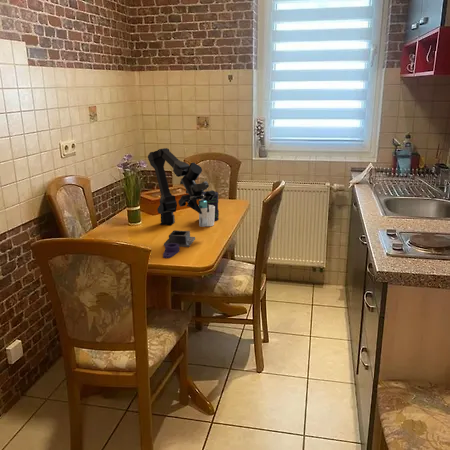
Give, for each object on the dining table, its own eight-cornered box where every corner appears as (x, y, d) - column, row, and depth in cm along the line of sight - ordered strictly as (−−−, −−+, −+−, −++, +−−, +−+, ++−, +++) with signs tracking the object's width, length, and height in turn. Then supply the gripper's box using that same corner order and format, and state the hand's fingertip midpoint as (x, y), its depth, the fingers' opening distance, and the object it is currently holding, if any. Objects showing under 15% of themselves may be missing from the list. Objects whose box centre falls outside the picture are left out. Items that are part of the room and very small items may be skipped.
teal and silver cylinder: (198, 226, 219) (197, 202, 215) (200, 224, 222) (199, 199, 219) (206, 226, 218) (206, 202, 214) (208, 224, 222) (207, 200, 218)
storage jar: (219, 217, 258) (219, 191, 254) (217, 222, 249) (217, 195, 244) (202, 216, 259) (201, 191, 255) (199, 221, 250) (198, 195, 245)
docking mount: (163, 245, 213) (163, 236, 211) (171, 237, 224) (170, 228, 223) (188, 247, 210) (188, 237, 209) (195, 238, 222) (194, 229, 220)
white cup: (217, 223, 247) (216, 205, 244) (212, 227, 240) (212, 208, 237) (203, 222, 249) (202, 204, 246) (198, 226, 242) (197, 207, 239)
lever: (167, 249, 209) (167, 242, 208) (181, 249, 208) (180, 243, 207) (159, 258, 198) (158, 251, 197) (173, 259, 197) (172, 252, 196)
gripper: (180, 178, 211) (195, 206, 206) (213, 173, 222) (227, 200, 217) (172, 192, 219) (185, 219, 214) (204, 187, 230) (217, 212, 225)
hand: (204, 212), depth 217 cm, fingers closed on teal and silver cylinder, 4 cm apart
